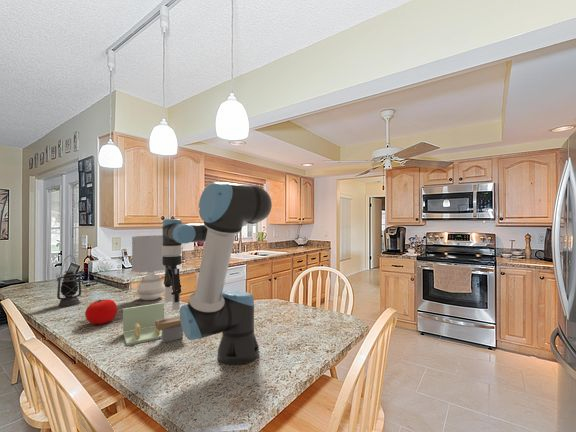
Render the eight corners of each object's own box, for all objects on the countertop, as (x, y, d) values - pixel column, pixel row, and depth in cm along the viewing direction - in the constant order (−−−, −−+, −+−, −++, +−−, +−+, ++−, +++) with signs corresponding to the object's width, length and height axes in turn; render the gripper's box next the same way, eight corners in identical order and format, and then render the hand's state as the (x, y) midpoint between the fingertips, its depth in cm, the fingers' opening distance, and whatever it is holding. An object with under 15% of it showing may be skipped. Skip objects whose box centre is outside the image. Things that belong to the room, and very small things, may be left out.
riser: (182, 338, 124) (182, 324, 124) (162, 343, 120) (162, 328, 120) (181, 336, 126) (181, 322, 126) (161, 341, 122) (161, 326, 122)
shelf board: (188, 324, 124) (188, 318, 124) (158, 330, 117) (158, 324, 117) (184, 320, 129) (184, 314, 129) (155, 326, 122) (155, 320, 122)
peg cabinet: (171, 336, 127) (171, 310, 127) (126, 345, 118) (126, 318, 118) (163, 325, 140) (163, 302, 140) (122, 333, 130) (123, 308, 131)
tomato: (121, 322, 145) (121, 299, 145) (88, 329, 135) (88, 305, 135) (113, 316, 154) (113, 294, 154) (81, 323, 144) (81, 300, 144)
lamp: (127, 298, 190) (127, 236, 190) (162, 292, 204) (162, 235, 205) (138, 305, 174) (138, 237, 174) (174, 298, 188) (174, 236, 189)
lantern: (78, 300, 186) (78, 253, 186) (84, 303, 179) (84, 254, 180) (53, 305, 175) (54, 255, 176) (60, 308, 169) (60, 256, 170)
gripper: (189, 258, 115) (189, 311, 115) (174, 251, 136) (174, 297, 136) (169, 259, 111) (169, 315, 111) (156, 253, 132) (156, 300, 132)
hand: (171, 305), depth 124 cm, fingers open, 13 cm apart
